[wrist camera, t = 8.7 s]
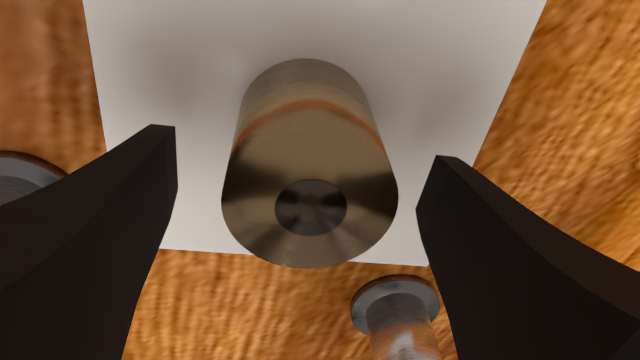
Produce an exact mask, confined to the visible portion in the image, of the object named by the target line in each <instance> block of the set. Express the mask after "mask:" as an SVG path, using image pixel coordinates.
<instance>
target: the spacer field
mask: <svg viewBox="0 0 640 360" xmlns="http://www.w3.org/2000/svg"><path fill="white" fill-rule="evenodd" d="M65 176H67V174H65V173H64V172H63V171H61V170H60V169H58V168H57V167H55V166H53V165H52V164H50V163H48V162H46V161H43V160H41V159H39V158H36V157H33V156H30V155H26V154H22V153H16V152H3V151H2V152H0V205H3V204H5V203H8V202H11V201H13V200H16V199H18V198H21V197H23V196H25V195H28V194H30V193H32V192H34V191H36V190H39V189H41V188H43V187H45V186H47V185H49V184H51V183H53V182H56V181H58V180H60V179H61V178H63V177H65ZM439 308H440V303H439V299H438V297H437V294H436V291H435V289H434V288H433V286H432V285H431V284H430V283H429V282H427V281H426V280H423V279H421V278H419V277H415V276H410V275H393V276H387V277H383V278H380V279H377V280H374V281H372V282H370V283H368V284H366V285H365V286H364V287H362V288H361V289H360V290H359V291H358V292H357V293H356V294H355V295H354V297H353V299H352V301H351V305H350V310H351V317H352V321H353V324H354V325H355V327H356V328H357V329H358V330H359V331H361V332H362V333H364V334H366V335H369V339H370V344H371V350H372V356H373V360H442V356H441V353H440V350H439V347H438V344H437V341H436V338H435V334H434V331H433V328H432V325H431V322H432V321H433V320H434V319H435V318H436V316H437V314H438V312H439Z"/></svg>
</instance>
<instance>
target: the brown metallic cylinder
mask: <svg viewBox="0 0 640 360" xmlns="http://www.w3.org/2000/svg"><path fill="white" fill-rule="evenodd" d="M398 200H399V195H398V187H397V182H396V179H395V176H394V173H393V170H392V167H391V165H390V162H389V159H388V156H387V153H386V151H385V148H384V145H383V142H382V139H381V136H380V134H379V131H378V128H377V125H376V122H375V119H374V117H373V114H372V111H371V108H370V105H369V102H368V100H367V97H366V95H365V92H364V91H363V89H362V87H361V86H360V84H359V83H358V82H357V81H356V79H355V78H354V77H352V76H351V75H350V74H349V73H348V72H346V71H345V70H344V69H342V68H340V67H338V66H336V65H334V64H332V63H329V62H326V61H323V60H318V59H309V58H302V59H293V60H287V61H284V62H281V63H278V64H276V65H274V66H272V67H270V68H268V69H267V70H265V71H264V72H262V73H261V74H260V75H259V76H258V77H257V78H256V79H255V80H254V81H253V82H252V83H251V84H250V86H249V87H248V89H247V90H246V92H245V94H244V97H243V99H242V102H241V105H240V110H239V114H238V119H237V124H236V128H235V133H234V138H233V142H232V147H231V152H230V156H229V161H228V166H227V170H226V175H225V180H224V184H223V189H222V196H221V209H222V214H223V218H224V221H225V223H226V226H227V228H228V229H229V231H230V233H231V234H232V235H233V237H234V238H235V239H236V240H237V242H239V243H240V244H241V245H242V246H243V247H244V248H245V249H247V250H248V251H249V252H251V253H252V254H254V255H256V256H257V257H259V258H261V259H264V260H266V261H268V262H271V263H274V264H277V265H281V266H286V267H293V268H321V267H327V266H332V265H336V264H340V263H343V262H346V261H348V260H351V259H353V258H355V257H357V256H359V255H361V254H362V253H364V252H366V251H367V250H369V249H370V248H371V247H373V246H374V245H375V244H376V243H377V242H378V241H379V240H380V239H381V238H382V237H383V236H384V235H385V233H386V232H387V231H388V229H389V228H390V226H391V224H392V222H393V220H394V218H395V216H396V212H397V208H398Z"/></svg>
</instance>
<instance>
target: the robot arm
mask: <svg viewBox="0 0 640 360" xmlns="http://www.w3.org/2000/svg"><path fill="white" fill-rule="evenodd" d="M177 192H178V174H177V153H176V132H175V126H167V125H158V124H150V125H148V126H146V127H145V128H143V129H142V130H140V131H139V132H137V133H136V134H134V135H133V136H131V137H130V138H128V139H127V140H125V141H124V142H122V143H120V144H119V145H117V146H116V147H114V148H113V149H111V150H110V151H108V152H107V153H105V154H103V155H102V156H100V157H99V158H97V159H95V160H93V161H92V162H90V163H88V164H86V165H85V166H83V167H81V168H79V169H78V170H76V171H74V172H72V173H71V174H69V175H67V176H65V177H63V178H61V179H60V180H58V181H56V182H53V183H51V184H49V185H47V186H45V187H43V188H41V189H39V190H36V191H34V192H32V193H30V194H28V195H25V196H23V197H21V198H18V199H16V200H13V201H11V202H8V203H5V204H3V205H0V360H121V358H122V354H123V351H124V347H125V343H126V340H127V336H128V333H129V329H130V326H131V322H132V319H133V315H134V312H135V308H136V305H137V302H138V299H139V296H140V293H141V291H142V288H143V285H144V283H145V281H146V278H147V276H148V273H149V271H150V268H151V266H152V264H153V261H154V259H155V256H156V254H157V252H158V249H159V247H160V244H161V242H162V239H163V237H164V234H165V232H166V229H167V227H168V224H169V222H170V219H171V215H172V212H173V208H174V204H175V200H176V196H177ZM415 212H416V217H417V223H418V228H419V233H420V237H421V241H422V244H423V247H424V250H425V253H426V255H427V258H428V261H429V264H430V267H431V269H432V272H433V275H434V277H435V280H436V283H437V286H438V288H439V291H440V294H441V297H442V299H443V302H444V305H445V308H446V311H447V314H448V318H449V321H450V325H451V329H452V334H453V338H454V342H455V346H456V350H457V355H458V359H459V360H640V272H638V271H636V270H634V269H632V268H629V267H627V266H625V265H623V264H621V263H619V262H617V261H615V260H613V259H611V258H609V257H607V256H605V255H603V254H601V253H599V252H598V251H596V250H594V249H592V248H590V247H588V246H586V245H585V244H583V243H581V242H579V241H578V240H576V239H574V238H573V237H571V236H569V235H568V234H566V233H564V232H562V231H561V230H559V229H557V228H556V227H554V226H553V225H551V224H550V223H548V222H547V221H545V220H544V219H542V218H541V217H539V216H538V215H536V214H535V213H533V212H532V211H530V210H529V209H527V208H526V207H525V206H523V205H522V204H520V203H519V202H518V201H516V200H515V199H514V198H512V197H511V196H510V195H508V194H507V193H506V192H504V191H503V190H502V189H500V188H499V187H498V186H496V185H495V184H494V183H492V182H491V181H490V180H488V179H487V178H486V177H485V176H483V175H482V174H481V173H479V172H478V171H477V170H475V169H474V168H472V167H471V166H470V165H468V164H467V163H465V162H464V161H462V160H461V159H459V158H457V157H453V156H444V155H436V156H435V159H434V161H433V164H432V167H431V169H430V172H429V175H428V177H427V180H426V182H425V185H424V188H423V190H422V193H421V196H420V198H419V201H418V203H417V206H416V209H415Z"/></svg>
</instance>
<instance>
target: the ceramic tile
mask: <svg viewBox="0 0 640 360" xmlns="http://www.w3.org/2000/svg"><path fill="white" fill-rule="evenodd" d="M546 2H547V0H83V6H84V12H85V18H86V24H87V30H88V37H89V43H90V49H91V55H92V62H93V68H94V74H95V80H96V86H97V93H98V99H99V105H100V111H101V117H102V124H103V130H104V136H105V142H106V148H107V152H108V151H110V150H111V149H113V148H114V147H116V146H117V145H119V144H120V143H122V142H124V141H125V140H127V139H128V138H130V137H131V136H133V135H134V134H136V133H137V132H139V131H140V130H142V129H143V128H145V127H146V126H148V125H150V124H158V125H167V126H175V132H176V153H177V174H178V192H177V196H176V200H175V204H174V208H173V212H172V215H171V219H170V222H169V224H168V227H167V229H166V232H165V234H164V237H163V239H162V242H161V244H160V247H159V248H161V249H176V250H191V251H206V252H220V253H235V254H250V255H254V254H252V253H251V252H249V251H248V250H247V249H245V248H244V247H243V246H242V245H241V244H240V243H239V242H237V240H236V239H235V238H234V237H233V235H232V234H231V233H230V231H229V229H228V228H227V226H226V223H225V221H224V218H223V214H222V209H221V196H222V189H223V184H224V180H225V175H226V170H227V166H228V161H229V156H230V152H231V147H232V142H233V138H234V133H235V128H236V124H237V119H238V114H239V110H240V105H241V102H242V99H243V97H244V94H245V92H246V90H247V89H248V87H249V86H250V84H251V83H252V82H253V81H254V80H255V79H256V78H257V77H258V76H259V75H260V74H261V73H262V72H264V71H265V70H267V69H268V68H270V67H272V66H274V65H276V64H278V63H281V62H284V61H287V60H293V59H302V58H309V59H318V60H323V61H326V62H329V63H332V64H334V65H336V66H338V67H340V68H342V69H344V70H345V71H346V72H348V73H349V74H350V75H351V76H352V77H354V78H355V79H356V81H357V82H358V83H359V84H360V86H361V87H362V89H363V91H364V92H365V95H366V97H367V100H368V102H369V105H370V108H371V111H372V114H373V117H374V119H375V122H376V125H377V128H378V131H379V134H380V136H381V139H382V142H383V145H384V148H385V151H386V153H387V156H388V159H389V162H390V165H391V167H392V170H393V173H394V176H395V179H396V182H397V187H398V195H399V200H398V208H397V212H396V216H395V218H394V220H393V222H392V224H391V226H390V228H389V229H388V231H387V232H386V233H385V235H384V236H383V237H382V238H381V239H380V240H379V241H378V242H377V243H376V244H375V245H374V246H373V247H371V248H370V249H369V250H367V251H366V252H364V253H362V254H361V255H359V256H357V257H355V258H353V259H351V260H348V261H353V262H367V263H382V264H397V265H411V266H426V267H427V266H428V264H429V261H428V258H427V255H426V253H425V250H424V247H423V244H422V241H421V237H420V233H419V228H418V223H417V217H416V212H415V209H416V206H417V203H418V201H419V198H420V196H421V193H422V190H423V188H424V185H425V182H426V180H427V177H428V175H429V172H430V169H431V167H432V164H433V161H434V159H435V156H436V155H444V156H453V157H457V158H459V159H461V160H462V161H464V162H465V163H467V164H468V165H470V166H471V167H472V166H473V164H474V162H475V159H476V157H477V155H478V153H479V150H480V148H481V146H482V144H483V142H484V139H485V137H486V135H487V133H488V130H489V128H490V126H491V124H492V122H493V119H494V117H495V115H496V113H497V110H498V108H499V106H500V104H501V102H502V99H503V97H504V95H505V93H506V90H507V88H508V86H509V84H510V82H511V79H512V77H513V75H514V73H515V70H516V68H517V66H518V64H519V62H520V59H521V57H522V55H523V53H524V50H525V48H526V46H527V44H528V42H529V39H530V37H531V35H532V33H533V30H534V28H535V26H536V24H537V22H538V19H539V17H540V15H541V13H542V10H543V8H544V6H545V4H546Z"/></svg>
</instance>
